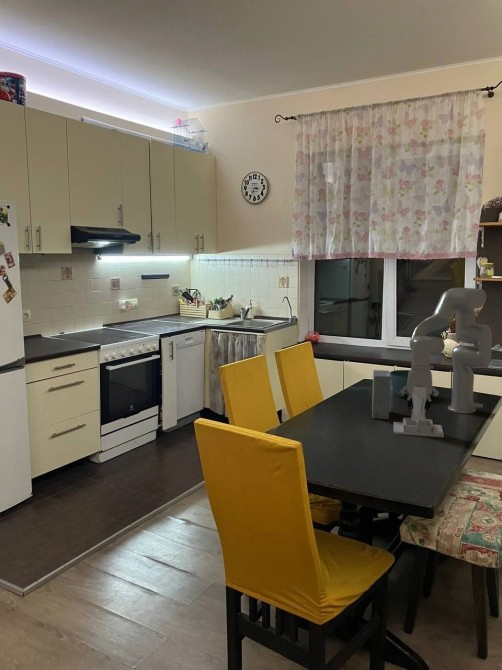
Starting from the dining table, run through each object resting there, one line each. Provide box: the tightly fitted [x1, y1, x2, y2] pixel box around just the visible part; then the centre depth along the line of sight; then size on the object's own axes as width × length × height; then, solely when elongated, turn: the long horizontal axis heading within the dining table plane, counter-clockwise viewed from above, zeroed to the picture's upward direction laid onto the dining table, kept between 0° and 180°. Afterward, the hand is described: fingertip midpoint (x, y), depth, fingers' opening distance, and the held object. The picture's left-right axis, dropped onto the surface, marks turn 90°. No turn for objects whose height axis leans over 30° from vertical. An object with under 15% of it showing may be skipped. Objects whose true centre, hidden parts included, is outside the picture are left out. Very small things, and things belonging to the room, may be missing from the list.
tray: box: [393, 417, 445, 438], centre depth 237 cm, size 20×14×6 cm
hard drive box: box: [371, 369, 391, 420], centre depth 260 cm, size 16×8×20 cm, turn 168°
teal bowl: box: [389, 369, 410, 399], centre depth 296 cm, size 18×18×12 cm
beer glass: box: [410, 386, 427, 422], centre depth 236 cm, size 7×7×15 cm
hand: (418, 409), depth 236 cm, fingers closed on beer glass, 6 cm apart
